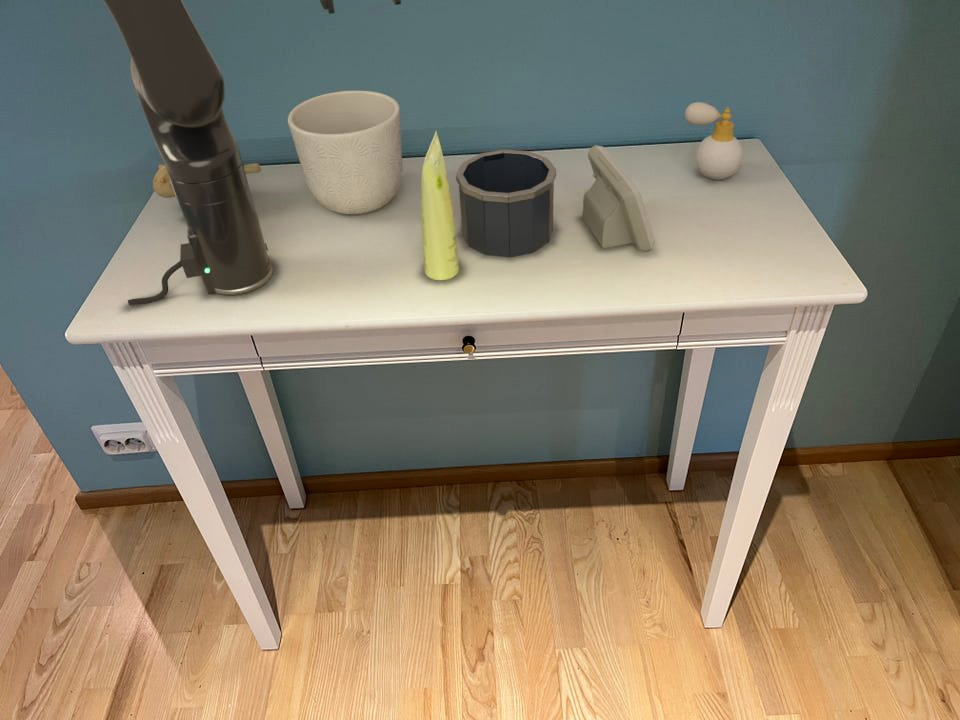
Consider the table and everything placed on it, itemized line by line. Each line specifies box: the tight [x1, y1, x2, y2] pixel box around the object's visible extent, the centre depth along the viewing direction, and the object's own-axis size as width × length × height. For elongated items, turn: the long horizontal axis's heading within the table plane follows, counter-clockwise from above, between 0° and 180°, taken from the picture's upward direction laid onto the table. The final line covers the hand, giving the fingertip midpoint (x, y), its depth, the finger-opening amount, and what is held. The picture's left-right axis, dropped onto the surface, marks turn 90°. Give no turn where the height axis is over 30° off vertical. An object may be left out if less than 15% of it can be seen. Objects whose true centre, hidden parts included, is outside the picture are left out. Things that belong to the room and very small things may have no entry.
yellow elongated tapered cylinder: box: [420, 130, 460, 281], centre depth 98 cm, size 6×5×20 cm
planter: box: [287, 90, 403, 215], centre depth 116 cm, size 17×17×15 cm
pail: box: [455, 149, 557, 258], centre depth 109 cm, size 14×14×10 cm
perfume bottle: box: [684, 101, 744, 181], centre depth 118 cm, size 8×10×12 cm
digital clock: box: [581, 144, 655, 252], centre depth 108 cm, size 16×9×11 cm, turn 2°
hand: (364, 7), depth 94 cm, fingers open, 8 cm apart
